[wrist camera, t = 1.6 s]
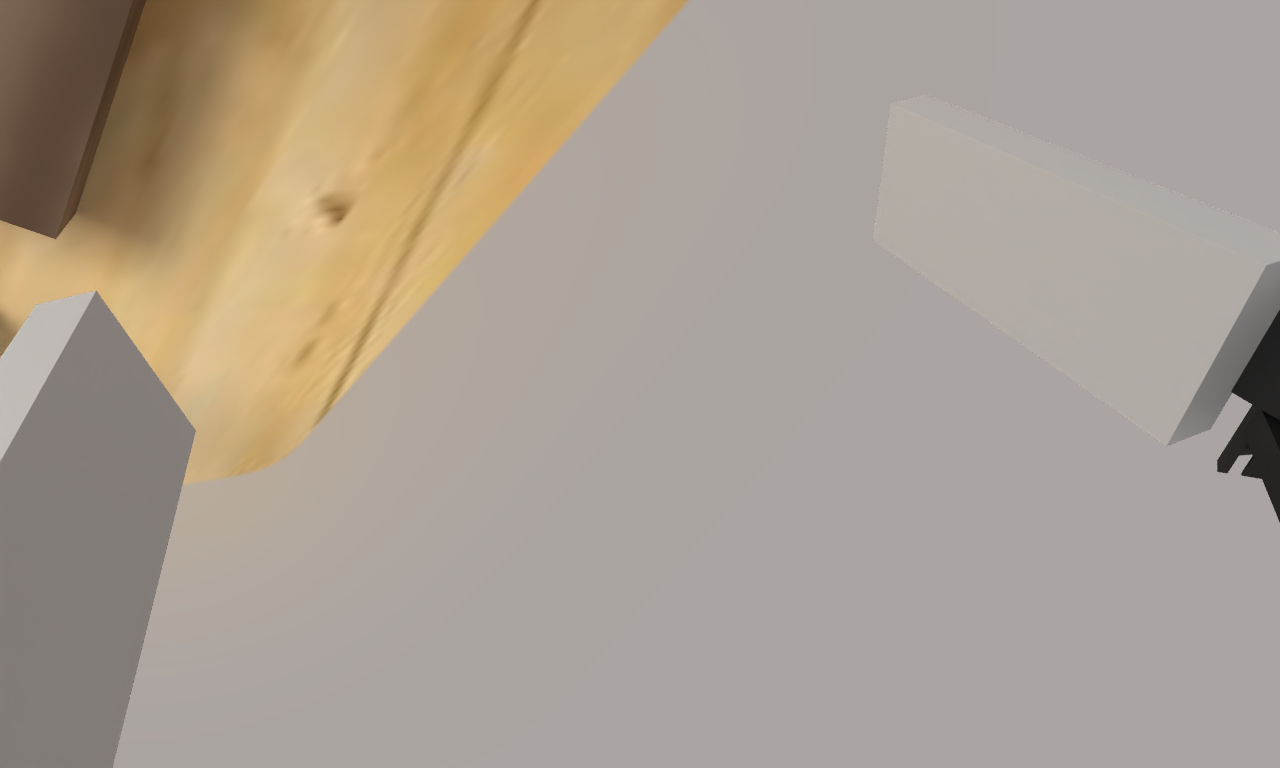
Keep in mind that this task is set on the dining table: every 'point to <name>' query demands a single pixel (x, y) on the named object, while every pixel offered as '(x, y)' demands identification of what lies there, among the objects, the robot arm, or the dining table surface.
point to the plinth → (56, 101)
